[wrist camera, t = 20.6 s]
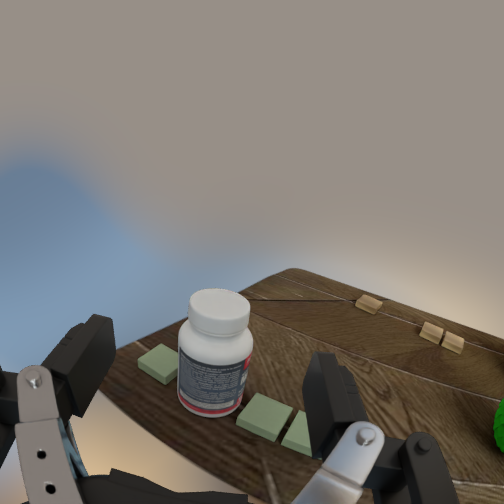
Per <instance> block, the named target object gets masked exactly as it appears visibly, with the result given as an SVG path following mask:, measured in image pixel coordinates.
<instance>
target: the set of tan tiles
mask: <svg viewBox="0 0 504 504" xmlns="http://www.w3.org/2000/svg"><path fill="white" fill-rule="evenodd" d="M381 305H382V302H380V301H378V300H376V299H374V298H372V297H369V296H367V295H365V294H364V295H363V296H362V297H360V298H359V299H358V300H357V301H356V304H355V306H356V307H358V308H360V309H362V310H365V311H367V312H369V313H371V314H373V315H374V314H375V313H376V312H377V311H378V310H379V309H380V307H381ZM442 333H443V329H441V328H439V327H437V326H434V325H432V324H430V323H428V322H425V323H424V325H423V328H422V330H421V332H420V334H419V336H421V337H423V338H425V339H427V340H429V341H432V342H434V343H436V344H439V342H440V340H441V337H442ZM463 343H464V339H463V338H461V337H459V336H456V335H454V334H452V333H450V332H447V331H446V333H445V335H444V337H443V341H442V345H441V346H443V347H445V348H447V349H449V350H451V351H454V352H456V353H458V354H460V353H461V351H462V349H463Z"/></svg>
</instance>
